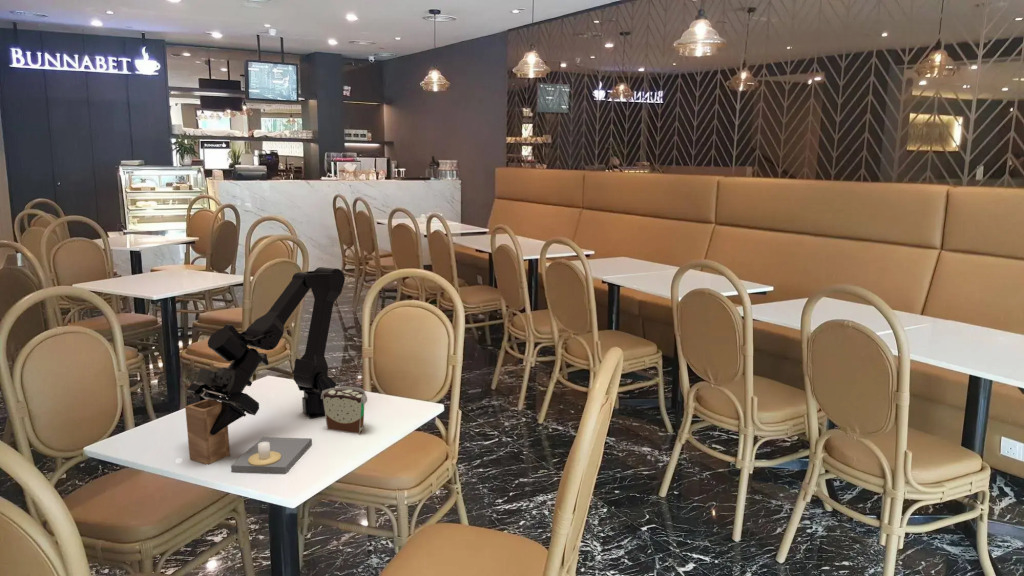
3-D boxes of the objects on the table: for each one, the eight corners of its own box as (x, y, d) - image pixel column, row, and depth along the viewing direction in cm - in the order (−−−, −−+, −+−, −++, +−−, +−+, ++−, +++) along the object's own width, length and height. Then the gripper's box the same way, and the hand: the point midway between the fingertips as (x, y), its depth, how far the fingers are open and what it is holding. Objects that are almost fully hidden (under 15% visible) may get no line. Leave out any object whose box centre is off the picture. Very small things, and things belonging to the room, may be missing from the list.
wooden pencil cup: (213, 449, 161) (208, 398, 159) (230, 455, 158) (226, 403, 156) (189, 459, 156) (185, 406, 154) (207, 464, 153) (202, 411, 151)
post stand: (263, 443, 165) (261, 422, 164) (312, 444, 164) (310, 423, 163) (231, 472, 149) (229, 449, 148) (285, 473, 149) (284, 450, 148)
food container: (377, 426, 176) (376, 388, 174) (365, 435, 170) (363, 396, 168) (336, 420, 180) (334, 383, 178) (322, 429, 174) (320, 391, 172)
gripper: (191, 348, 161) (150, 407, 154) (245, 359, 152) (204, 422, 144) (222, 372, 169) (185, 429, 162) (275, 384, 160) (238, 445, 152)
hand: (202, 431), depth 155 cm, fingers closed on wooden pencil cup, 6 cm apart
